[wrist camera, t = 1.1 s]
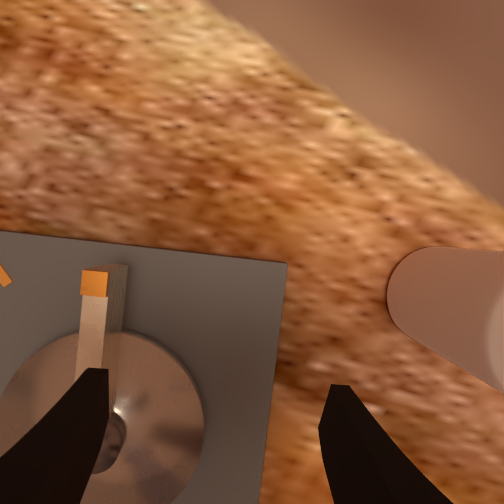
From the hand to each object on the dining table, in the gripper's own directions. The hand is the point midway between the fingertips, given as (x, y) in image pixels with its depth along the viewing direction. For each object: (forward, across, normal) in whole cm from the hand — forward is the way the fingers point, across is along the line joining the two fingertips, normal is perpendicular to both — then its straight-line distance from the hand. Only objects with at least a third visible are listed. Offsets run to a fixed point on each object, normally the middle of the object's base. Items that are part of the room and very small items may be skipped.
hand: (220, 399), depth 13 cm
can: (+13, -14, +2) cm, 19 cm away
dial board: (+10, +6, +10) cm, 16 cm away
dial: (+9, +6, +9) cm, 14 cm away
